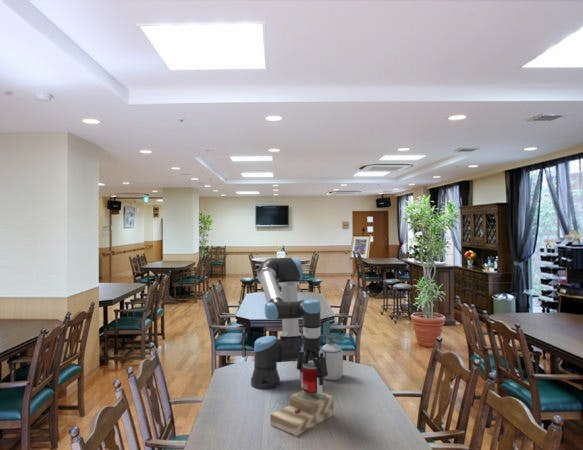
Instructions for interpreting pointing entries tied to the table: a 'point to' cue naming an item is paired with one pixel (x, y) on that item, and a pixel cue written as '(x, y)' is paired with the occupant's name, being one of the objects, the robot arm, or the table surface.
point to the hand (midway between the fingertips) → (311, 389)
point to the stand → (303, 412)
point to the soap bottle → (332, 354)
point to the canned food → (309, 377)
